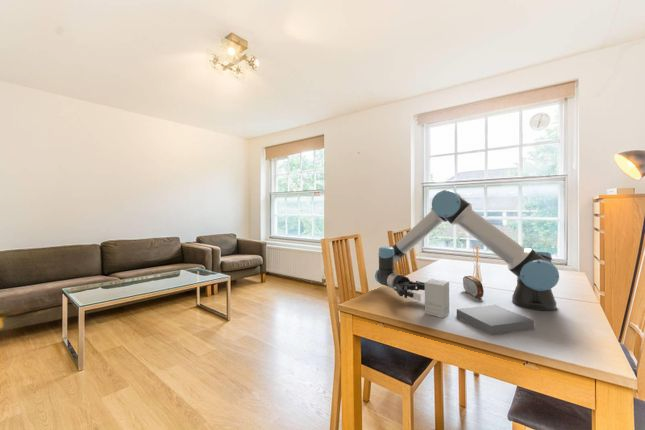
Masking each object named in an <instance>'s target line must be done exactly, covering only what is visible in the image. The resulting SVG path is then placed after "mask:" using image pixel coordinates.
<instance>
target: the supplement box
mask: <svg viewBox="0 0 645 430" xmlns="http://www.w3.org/2000/svg"><path fill="white" fill-rule="evenodd" d="M424 283H425V290H424V314H426V315H430V316H434V317H438V318H442V319H444V318H445V317H446V316H448V315H449V314H450V281H445V280H439V279H435V278H433V279H432V278H431V279H428V280H427V281H426V282H424Z"/></svg>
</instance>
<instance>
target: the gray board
mask: <svg viewBox="0 0 645 430" xmlns="http://www.w3.org/2000/svg"><path fill="white" fill-rule="evenodd" d="M456 317H457V318H458V319H461V321H464V322H465V323H468V324H470V325H471V326H472V327H473V326H474V327H475V328H478V329H479V330H481V331H483V332H485V333H487V334H489V335H490V336H493V335H499V334H507V333H514V332H521V331H528V330H534V329H535V319H532V318H530V317H526V316H524V315H522V314H519V313H518V312H515V311H512V310H509V309H507V308H505V307H501V306H499V305H497V304H490V305H483V306H482V305H481V306H472V307H471V306H470V307H463V308H457V309H456Z"/></svg>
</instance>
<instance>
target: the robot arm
mask: <svg viewBox="0 0 645 430" xmlns="http://www.w3.org/2000/svg"><path fill="white" fill-rule="evenodd" d="M446 222H447V223H449V224H451V225H452V226H453V225H457V226H459V227H460V228H462V229H463V230H464V231H466V232H467V233H468V234H469V236H471V237H473V238H474V239H475V240H476V241H478V242H479V243H481V244H482V245H483V247H486V248H487V249H488V250H489V251H491V252H492V253H493V254H495V255H496V256H497V257H498V258H500V259H501V260H502V261H503V262H505V263H506V264H507V269H508V271H510V272H511V273H512V274H513V275H515V276H516V281H517V282H516V286H515V290H513V294H512V296H511V300H512V303H513V304H514V305H517V306H520V307H522V308H527V309H530V310H537V311H554V310H556V309H557V301H556V300H555V295H554V294H553V293H554V292H553V291H552V289H553V288H554V287H556V286H557V285H558V282H559V280H560V272H559V270H558V268H557V266H556V265H555V264H554V263H552V260H553V258H552V254H551V252H548V251H535V250H534V249H533V248H525V247H523V246H521V245H520V244H519V243H518V242H516V241H515V240H514V239H512V237H509V235H507V234H506V233H504V232H503V231H501V230H500V229H499V228H498V227H496V225H493V224H492V223H491V222H490V221H488V220H487V219H486V218H484V217H482V216H481V215H480V214H478V213H477V212H476V211H475V210H473V207H472V203H470V202H469V201H468V200H466V199H465V198H464V197H462V196H461V195H460V194H459V193H458V192H456V191H454V190H450V189H443V190H441V191H439V192H437V193H436V194H435V195H434V196H433V198H432V200H431V208H430V212H429V213H428V214H427V215H425V216H424V217H423V218H422V219H421V220H420V221H419V222H418V223H416V224H415V226H413V227H412V228H411V229H409V231H408V232H407V233H405V235H403V237H401V238H400V239H399V240H398V241H397V242H396V243H395V244H393V246H386V245H385V246H380V247H379V248H378V269H377V270H376V272H375V274H374V278H375V281H376V283H378V284H380V285H382V286H385V287H388V288H390V289H392V290H394V291H396V293H397V294H398V295H399V297H404V299H407V298H411V299H413V300H416V301H417V302H421V293H418V292H419V291H425V282H424V281H423V282H422V281H419V280H416V281H412V280H410V279H409V277H408V276H406V275H402V274H400V273H396V272H395V263H397V262H399V261H400V260H402V259H403V257H405V255H407V254H408V253H409V252H410V251H411V250H412V249H413V248H414V247H416V245H418V244H419V243H421V241H423V240H424V239H425V238H426V237H428V235H429V234H430V233H432V232H433V231H434V230H435V229H436V228H438V227H439V226H440V225H441V224H442V223H446ZM417 291H418V292H417Z"/></svg>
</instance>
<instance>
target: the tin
mask: <svg viewBox="0 0 645 430" xmlns="http://www.w3.org/2000/svg"><path fill="white" fill-rule="evenodd" d="M462 285H463V289H464V291H465V292H466V294H468V295H470V296H471V297H473V298H474V299H477V298H479V299H480V298H483V296H484V294H485V293H484V286H483V284H482V282H481V280H479V279H478V278H476V277H474V276H472V275H466V276H464V277H463V278H462Z"/></svg>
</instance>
